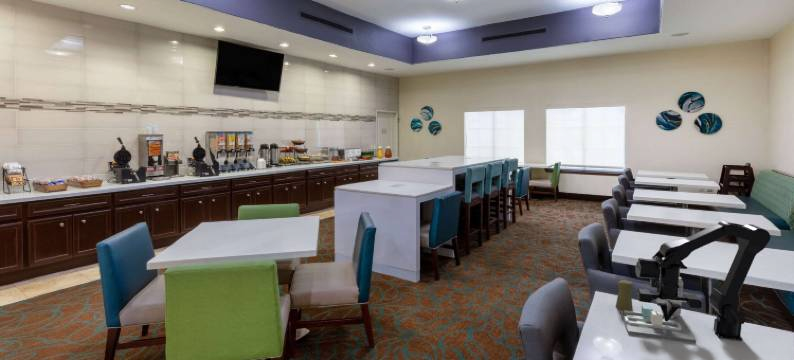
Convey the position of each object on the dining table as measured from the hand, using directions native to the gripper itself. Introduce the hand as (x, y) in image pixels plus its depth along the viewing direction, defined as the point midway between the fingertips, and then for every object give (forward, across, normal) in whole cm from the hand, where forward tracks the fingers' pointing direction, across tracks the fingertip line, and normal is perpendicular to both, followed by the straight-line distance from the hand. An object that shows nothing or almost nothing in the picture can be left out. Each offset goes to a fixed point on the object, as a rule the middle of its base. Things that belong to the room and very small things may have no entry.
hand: (666, 320), depth 149 cm
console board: (+3, +3, 0) cm, 4 cm away
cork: (+3, +11, -15) cm, 19 cm away
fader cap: (+2, +3, 0) cm, 3 cm away
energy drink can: (+3, -5, -14) cm, 15 cm away
